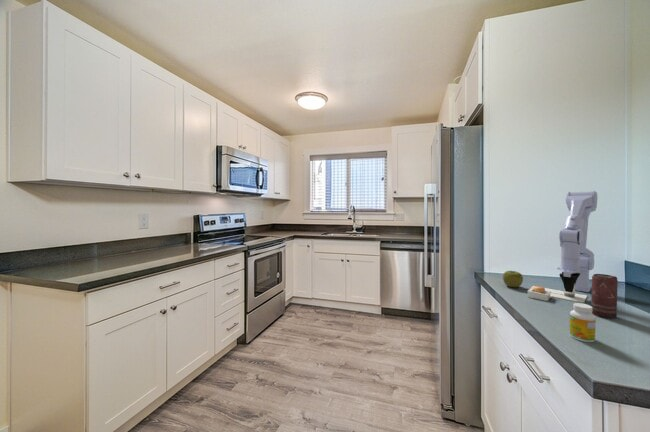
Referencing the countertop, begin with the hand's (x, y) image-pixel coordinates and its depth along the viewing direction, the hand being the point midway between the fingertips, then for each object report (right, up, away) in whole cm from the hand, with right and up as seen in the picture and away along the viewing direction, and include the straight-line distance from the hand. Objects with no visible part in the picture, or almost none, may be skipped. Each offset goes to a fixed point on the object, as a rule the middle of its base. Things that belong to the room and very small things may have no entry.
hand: (569, 290), depth 110 cm
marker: (0, -2, 0) cm, 2 cm away
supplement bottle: (-26, -5, -32) cm, 42 cm away
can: (-4, -4, -18) cm, 19 cm away
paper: (-2, -3, +4) cm, 5 cm away
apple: (-13, -3, +15) cm, 20 cm away
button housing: (-12, -3, +1) cm, 13 cm away
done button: (-12, -1, +1) cm, 12 cm away
